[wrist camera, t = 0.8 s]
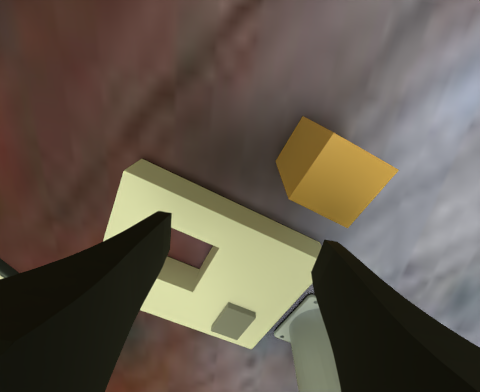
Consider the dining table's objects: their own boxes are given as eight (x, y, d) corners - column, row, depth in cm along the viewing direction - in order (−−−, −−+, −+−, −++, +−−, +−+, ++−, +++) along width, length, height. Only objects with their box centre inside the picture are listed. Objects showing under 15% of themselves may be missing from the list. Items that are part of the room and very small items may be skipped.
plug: (345, 140, 18) (398, 170, 11) (315, 182, 19) (347, 228, 13) (302, 115, 17) (333, 132, 11) (275, 161, 19) (288, 199, 12)
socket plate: (319, 242, 22) (331, 269, 19) (251, 323, 28) (251, 355, 24) (141, 158, 19) (119, 173, 16) (106, 269, 25) (84, 296, 21)
